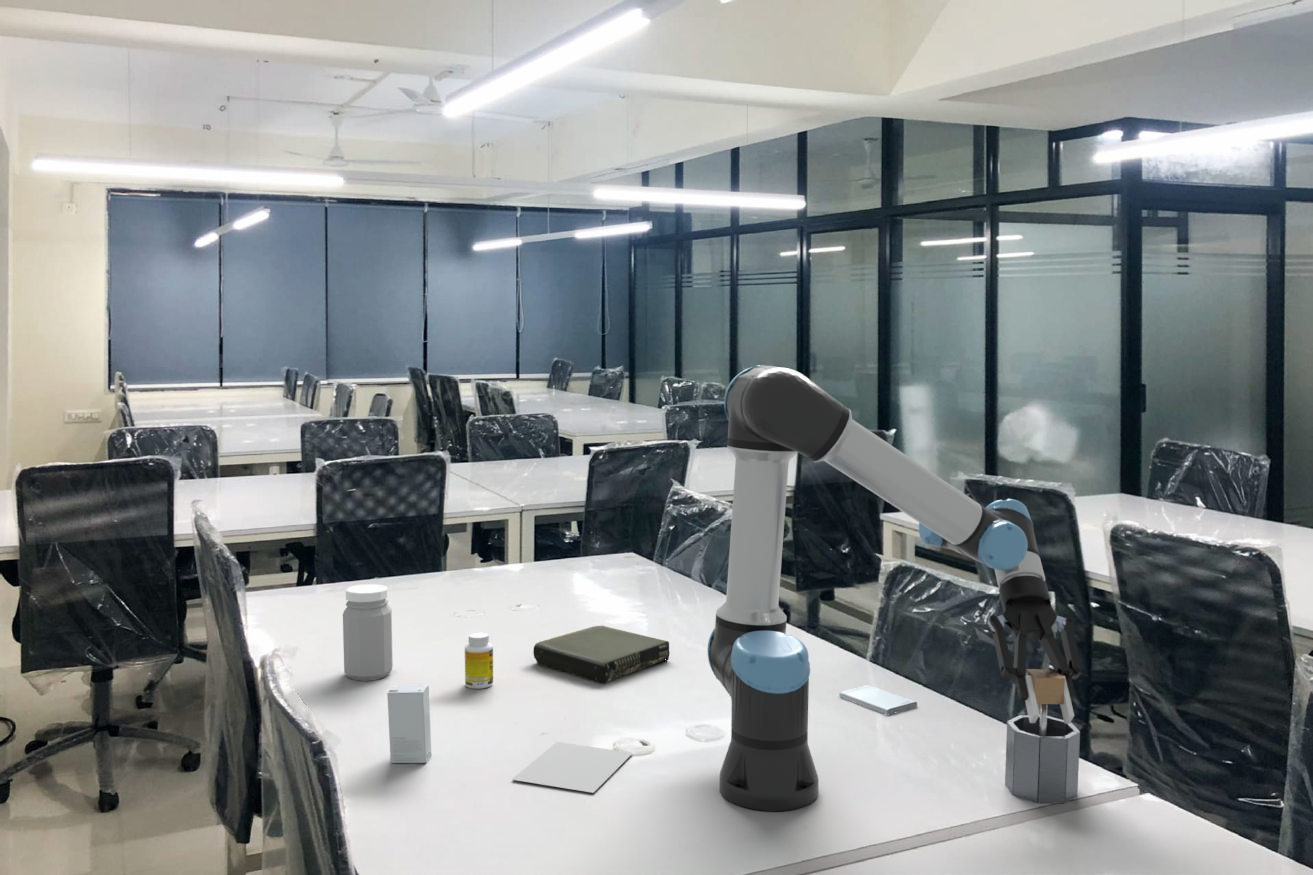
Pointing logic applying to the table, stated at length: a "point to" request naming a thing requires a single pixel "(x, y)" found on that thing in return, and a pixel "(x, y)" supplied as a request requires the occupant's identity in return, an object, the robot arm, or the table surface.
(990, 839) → the table surface
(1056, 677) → the plunger
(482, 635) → the supplement bottle
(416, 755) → the skincare box
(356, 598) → the jar
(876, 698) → the hard drive
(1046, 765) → the octagonal metal cup
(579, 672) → the network switch
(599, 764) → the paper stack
